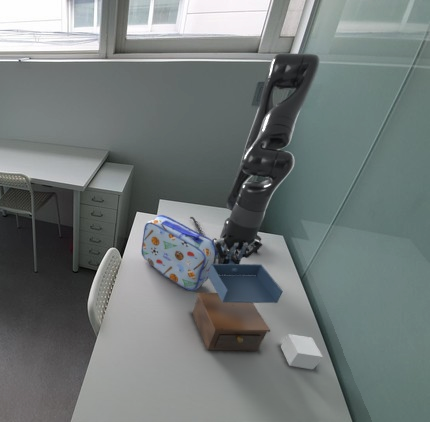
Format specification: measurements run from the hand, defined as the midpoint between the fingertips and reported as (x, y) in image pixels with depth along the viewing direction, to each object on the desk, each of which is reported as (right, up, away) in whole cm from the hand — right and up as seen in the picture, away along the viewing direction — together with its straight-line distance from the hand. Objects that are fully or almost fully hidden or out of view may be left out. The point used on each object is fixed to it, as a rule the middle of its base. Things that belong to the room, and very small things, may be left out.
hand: (227, 266), depth 92 cm
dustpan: (0, -2, -2) cm, 3 cm away
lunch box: (-7, -7, +26) cm, 28 cm away
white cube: (+17, -26, -5) cm, 31 cm away
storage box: (0, -21, +3) cm, 21 cm away
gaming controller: (+30, +2, +39) cm, 49 cm away
